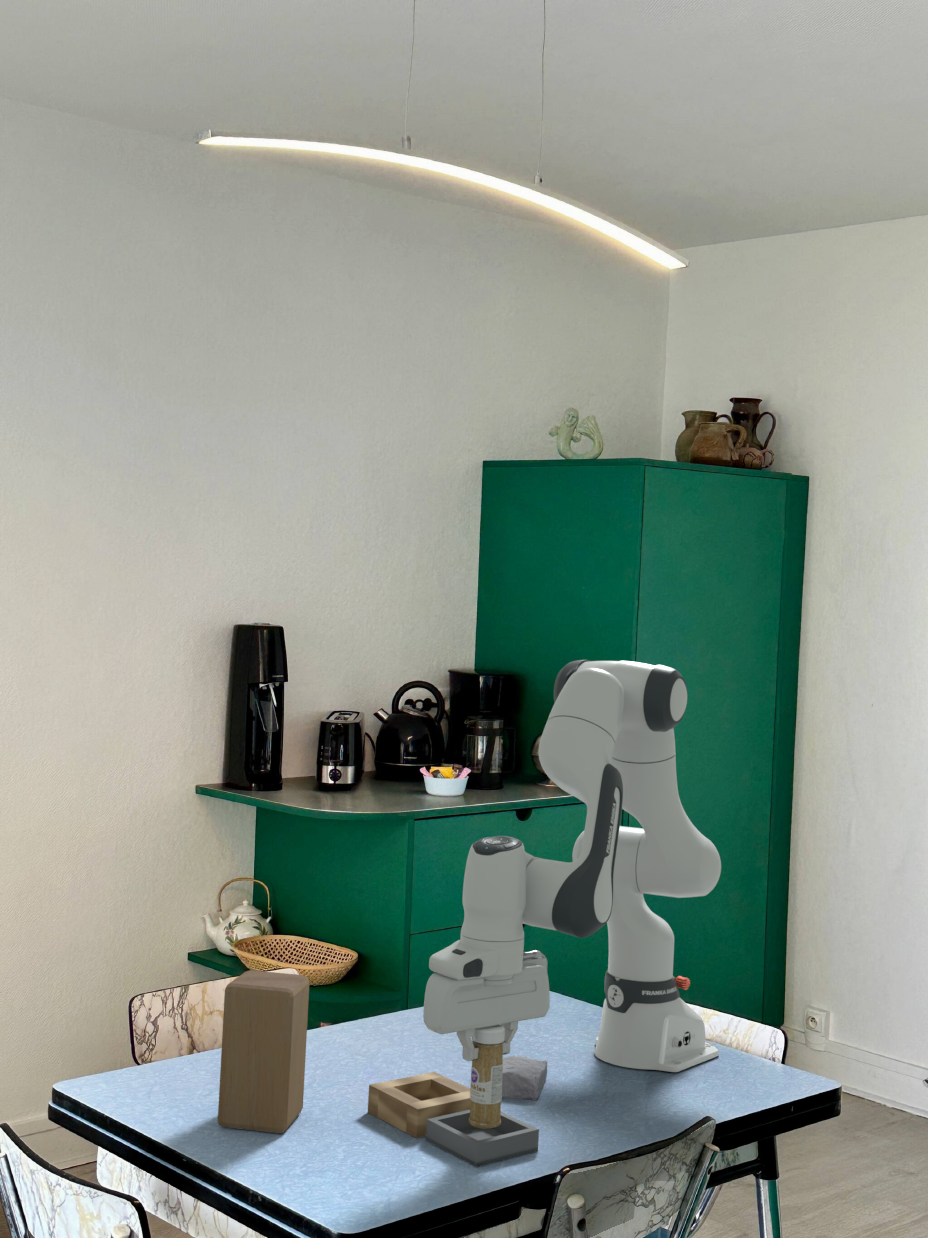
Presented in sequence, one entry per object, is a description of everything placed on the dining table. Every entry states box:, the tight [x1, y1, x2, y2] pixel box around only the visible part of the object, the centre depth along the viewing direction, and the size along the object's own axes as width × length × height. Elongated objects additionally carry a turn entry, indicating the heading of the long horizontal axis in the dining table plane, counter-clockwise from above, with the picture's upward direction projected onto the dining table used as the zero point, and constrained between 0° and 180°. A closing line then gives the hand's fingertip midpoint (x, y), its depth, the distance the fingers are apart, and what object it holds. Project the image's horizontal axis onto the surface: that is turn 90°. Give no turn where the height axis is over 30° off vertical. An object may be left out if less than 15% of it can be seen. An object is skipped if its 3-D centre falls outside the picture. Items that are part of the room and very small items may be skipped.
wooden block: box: [217, 969, 310, 1134], centre depth 192 cm, size 10×10×20 cm
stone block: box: [502, 1055, 548, 1101], centre depth 212 cm, size 12×5×10 cm
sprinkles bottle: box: [469, 1024, 505, 1129], centre depth 186 cm, size 5×5×14 cm
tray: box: [425, 1110, 540, 1168], centre depth 186 cm, size 11×11×3 cm
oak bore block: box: [367, 1071, 470, 1139], centre depth 196 cm, size 12×12×4 cm
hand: (486, 1057), depth 186 cm, fingers closed on sprinkles bottle, 4 cm apart
